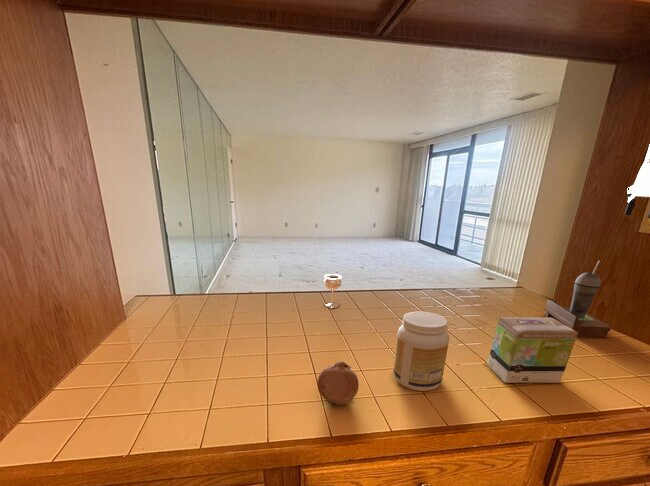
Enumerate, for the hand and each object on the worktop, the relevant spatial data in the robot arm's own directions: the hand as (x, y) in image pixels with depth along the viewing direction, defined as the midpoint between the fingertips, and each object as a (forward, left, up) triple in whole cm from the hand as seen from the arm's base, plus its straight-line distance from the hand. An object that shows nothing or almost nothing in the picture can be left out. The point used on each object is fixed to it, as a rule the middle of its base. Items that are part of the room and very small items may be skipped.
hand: (640, 216), depth 111 cm
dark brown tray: (+12, +3, -38) cm, 40 cm away
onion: (+94, +56, -38) cm, 116 cm away
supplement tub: (+74, +45, -38) cm, 94 cm away
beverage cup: (+12, +3, -34) cm, 36 cm away
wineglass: (+99, -7, -38) cm, 106 cm away
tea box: (+45, +39, -38) cm, 70 cm away
